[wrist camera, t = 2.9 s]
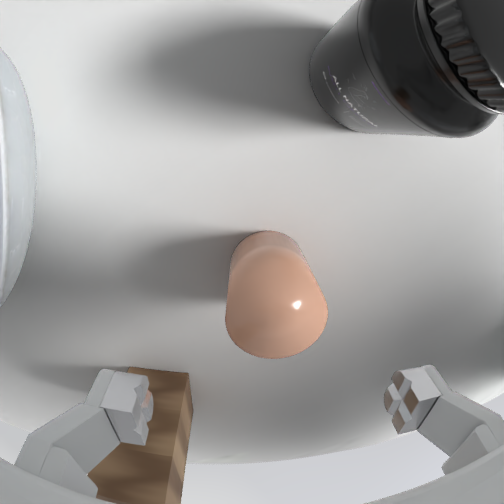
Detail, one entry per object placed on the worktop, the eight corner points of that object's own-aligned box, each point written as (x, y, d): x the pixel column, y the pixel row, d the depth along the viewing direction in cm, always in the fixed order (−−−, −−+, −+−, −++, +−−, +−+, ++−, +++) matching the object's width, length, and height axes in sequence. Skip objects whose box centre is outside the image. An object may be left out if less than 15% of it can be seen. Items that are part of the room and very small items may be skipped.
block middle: (181, 410, 18) (172, 456, 14) (188, 445, 20) (182, 485, 16) (115, 400, 18) (99, 442, 14) (130, 437, 19) (119, 474, 16)
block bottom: (188, 373, 22) (181, 410, 18) (193, 410, 23) (188, 445, 20) (129, 366, 21) (115, 400, 18) (140, 404, 23) (130, 437, 19)
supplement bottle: (297, 118, 15) (409, 75, 4) (315, 19, 13) (403, -102, 2) (401, 148, 16) (562, 180, 5) (414, 55, 14) (554, 14, 2)
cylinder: (307, 232, 18) (335, 274, 12) (299, 299, 19) (318, 357, 14) (231, 229, 18) (225, 271, 12) (229, 297, 19) (225, 357, 14)
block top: (172, 456, 14) (163, 510, 10) (182, 485, 16) (177, 529, 12) (99, 442, 14) (82, 489, 10) (119, 474, 16) (109, 514, 12)
